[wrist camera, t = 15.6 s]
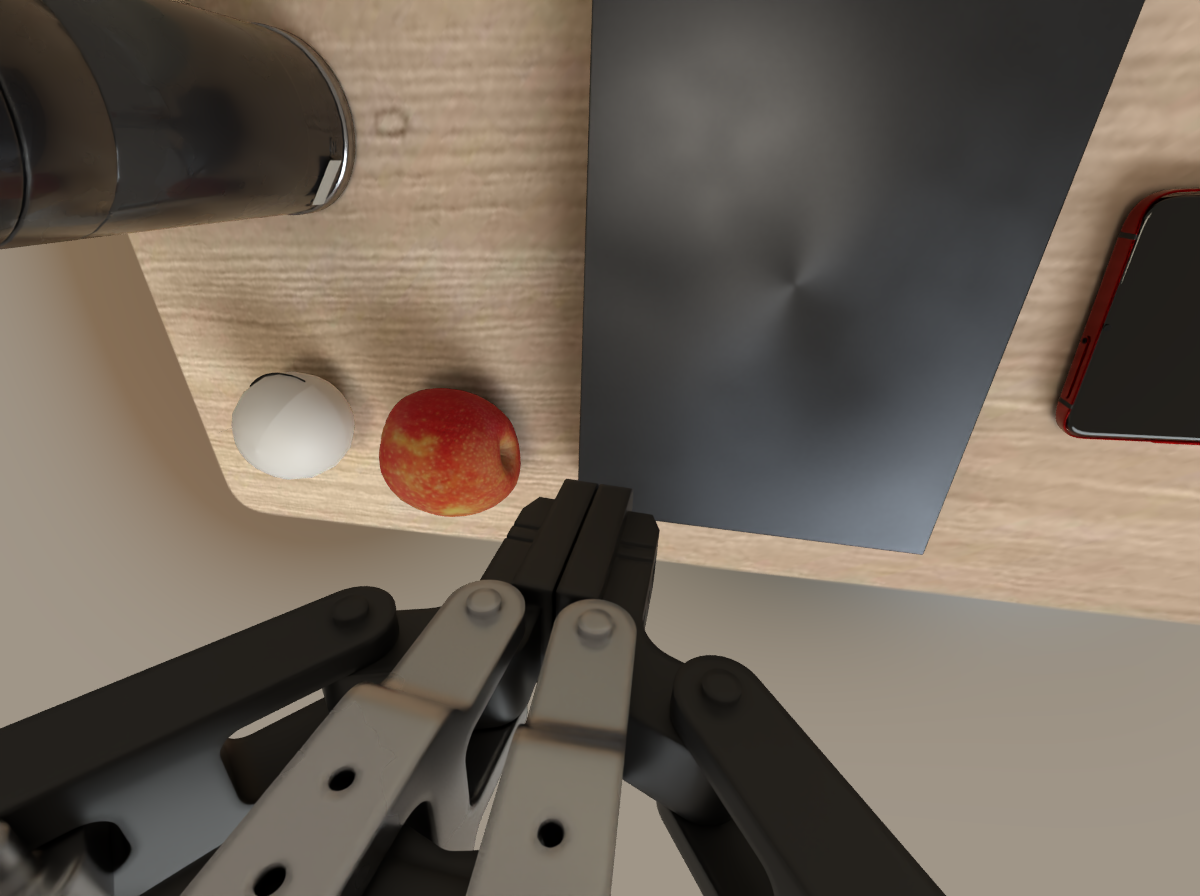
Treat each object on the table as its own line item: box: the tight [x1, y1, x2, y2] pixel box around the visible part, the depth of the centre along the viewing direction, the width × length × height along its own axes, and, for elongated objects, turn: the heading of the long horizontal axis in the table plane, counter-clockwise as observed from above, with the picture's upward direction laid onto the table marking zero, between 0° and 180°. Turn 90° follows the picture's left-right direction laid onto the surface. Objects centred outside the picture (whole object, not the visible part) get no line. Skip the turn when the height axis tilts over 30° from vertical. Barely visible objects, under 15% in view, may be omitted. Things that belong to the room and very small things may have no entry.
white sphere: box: [221, 371, 355, 479], centre depth 38 cm, size 10×7×7 cm
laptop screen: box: [578, 0, 1145, 555], centre depth 28 cm, size 21×30×1 cm
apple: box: [379, 388, 521, 517], centre depth 35 cm, size 8×8×8 cm
